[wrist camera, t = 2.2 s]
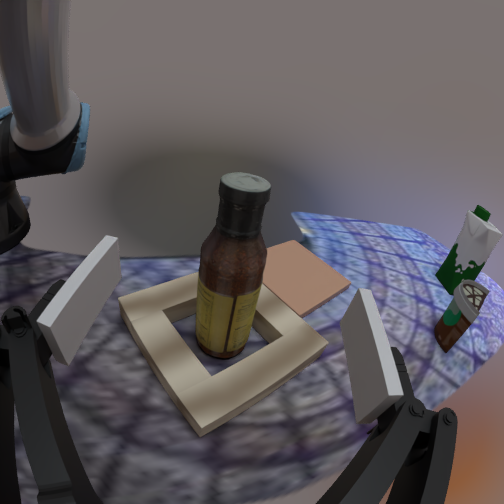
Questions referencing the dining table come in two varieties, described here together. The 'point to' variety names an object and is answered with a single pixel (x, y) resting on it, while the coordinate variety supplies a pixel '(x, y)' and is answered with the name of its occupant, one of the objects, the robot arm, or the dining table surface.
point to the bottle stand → (231, 379)
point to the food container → (460, 313)
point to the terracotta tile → (301, 278)
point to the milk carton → (469, 250)
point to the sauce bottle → (232, 266)
